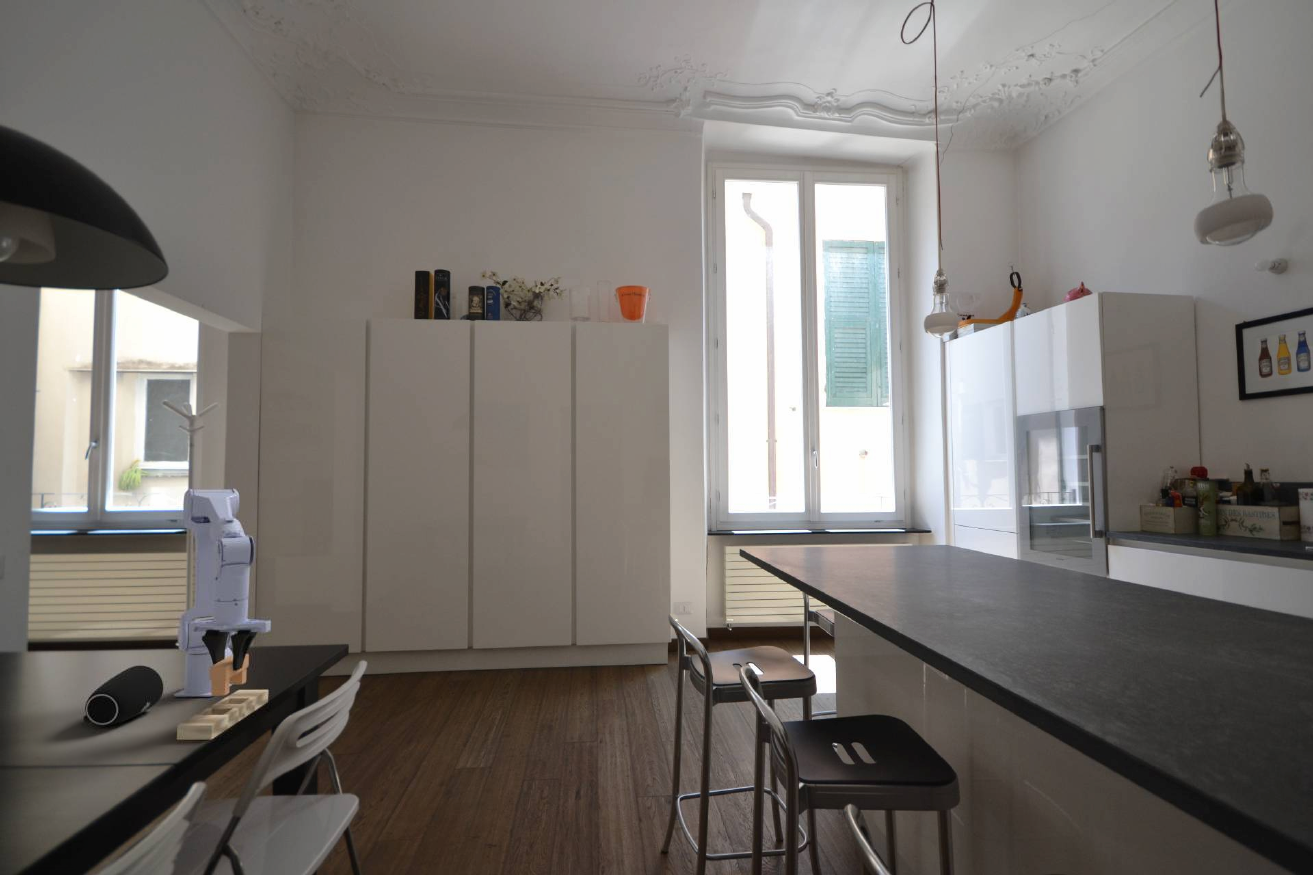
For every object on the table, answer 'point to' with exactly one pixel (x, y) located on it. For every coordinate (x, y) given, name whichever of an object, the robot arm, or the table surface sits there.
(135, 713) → the black cylindrical speaker
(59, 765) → the table surface
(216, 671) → the clip
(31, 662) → the table surface
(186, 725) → the rail
